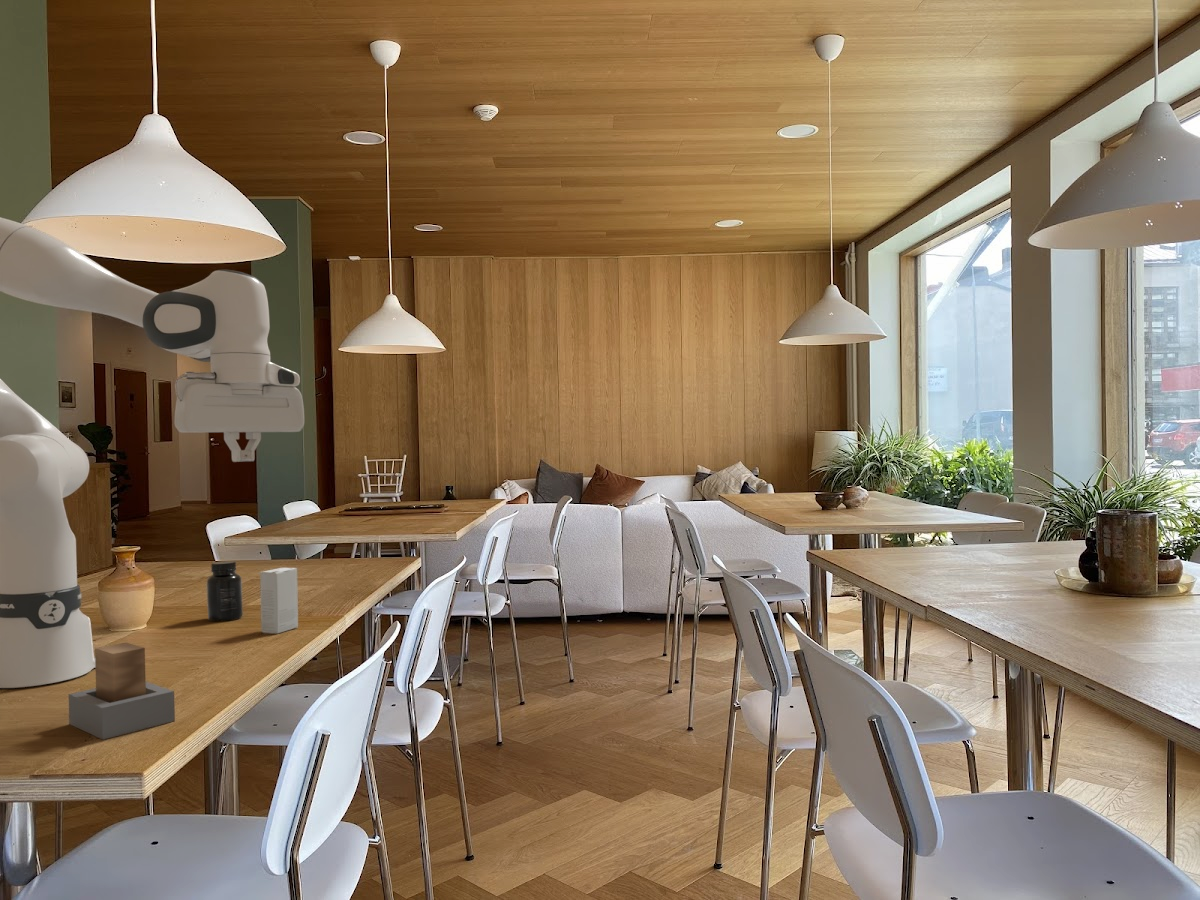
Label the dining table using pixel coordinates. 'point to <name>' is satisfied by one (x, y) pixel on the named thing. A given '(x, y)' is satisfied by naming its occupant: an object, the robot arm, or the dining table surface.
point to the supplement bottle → (224, 592)
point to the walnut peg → (120, 672)
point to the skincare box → (279, 600)
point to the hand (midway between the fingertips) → (243, 461)
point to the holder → (121, 712)
